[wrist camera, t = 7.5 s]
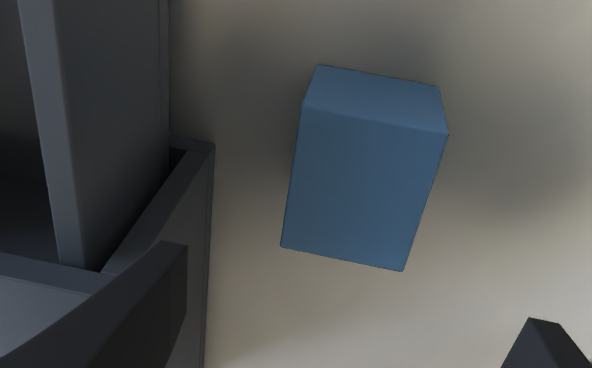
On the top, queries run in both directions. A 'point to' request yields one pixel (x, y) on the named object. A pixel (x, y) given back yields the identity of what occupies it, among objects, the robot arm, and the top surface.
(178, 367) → the small drawer box
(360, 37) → the top surface
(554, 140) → the top surface
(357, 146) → the block
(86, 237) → the grey drawer
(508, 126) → the top surface
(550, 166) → the top surface
